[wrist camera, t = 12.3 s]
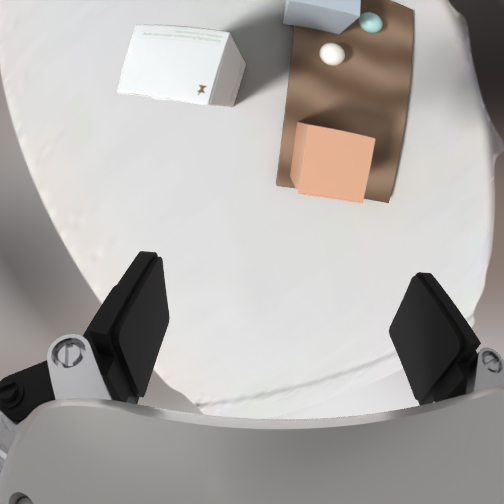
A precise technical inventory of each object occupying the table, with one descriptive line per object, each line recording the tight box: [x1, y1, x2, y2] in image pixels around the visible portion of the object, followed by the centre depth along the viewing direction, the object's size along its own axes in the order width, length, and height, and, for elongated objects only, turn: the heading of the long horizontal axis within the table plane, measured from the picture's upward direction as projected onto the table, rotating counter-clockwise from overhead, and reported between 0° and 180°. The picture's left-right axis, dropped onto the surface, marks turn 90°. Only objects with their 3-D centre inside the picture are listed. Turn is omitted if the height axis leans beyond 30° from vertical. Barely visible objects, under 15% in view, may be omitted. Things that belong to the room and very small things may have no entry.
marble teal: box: [359, 12, 382, 33], centre depth 22 cm, size 3×3×3 cm
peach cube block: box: [290, 122, 375, 203], centre depth 29 cm, size 7×7×8 cm
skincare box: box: [117, 25, 246, 107], centre depth 23 cm, size 8×7×16 cm
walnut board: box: [276, 0, 413, 203], centre depth 29 cm, size 30×16×2 cm, turn 174°
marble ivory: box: [320, 43, 345, 66], centre depth 25 cm, size 3×3×3 cm
